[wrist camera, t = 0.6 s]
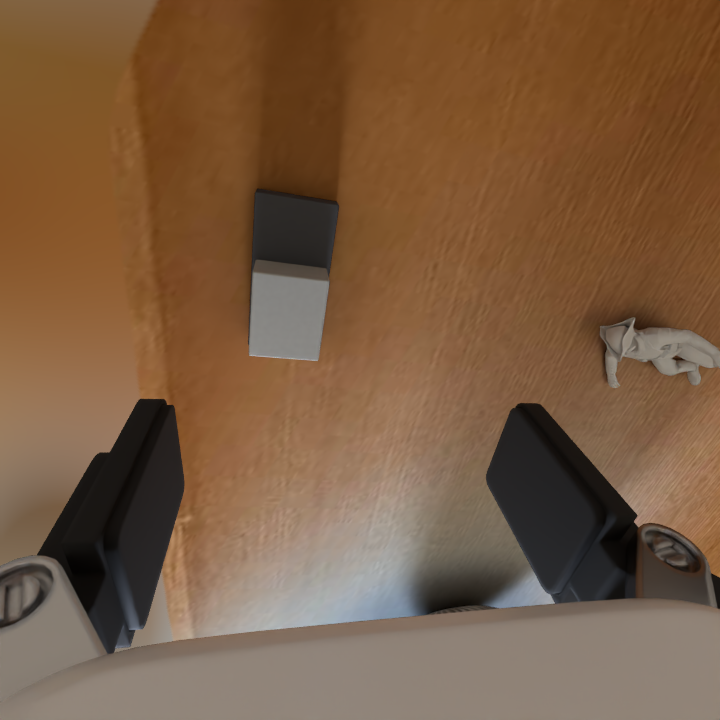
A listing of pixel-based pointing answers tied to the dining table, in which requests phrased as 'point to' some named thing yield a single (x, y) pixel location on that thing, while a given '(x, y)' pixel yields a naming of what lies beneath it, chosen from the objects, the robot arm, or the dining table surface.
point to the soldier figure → (658, 349)
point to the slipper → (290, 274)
